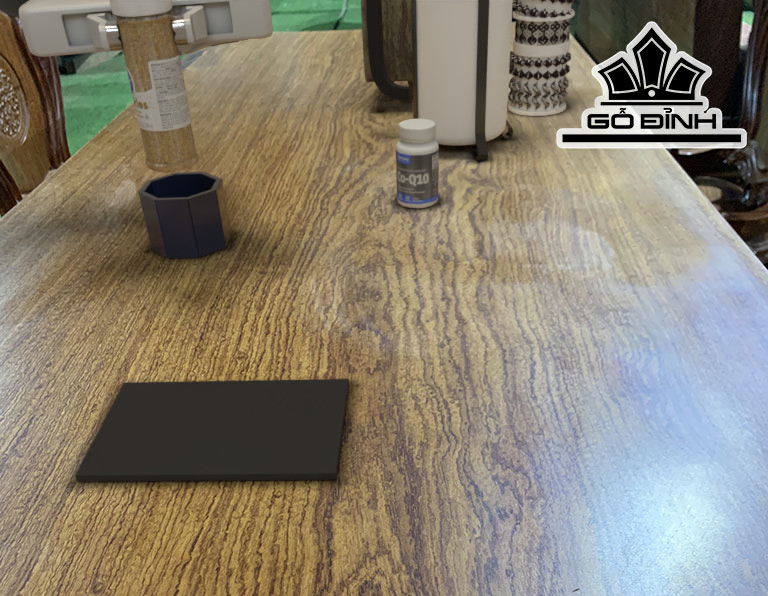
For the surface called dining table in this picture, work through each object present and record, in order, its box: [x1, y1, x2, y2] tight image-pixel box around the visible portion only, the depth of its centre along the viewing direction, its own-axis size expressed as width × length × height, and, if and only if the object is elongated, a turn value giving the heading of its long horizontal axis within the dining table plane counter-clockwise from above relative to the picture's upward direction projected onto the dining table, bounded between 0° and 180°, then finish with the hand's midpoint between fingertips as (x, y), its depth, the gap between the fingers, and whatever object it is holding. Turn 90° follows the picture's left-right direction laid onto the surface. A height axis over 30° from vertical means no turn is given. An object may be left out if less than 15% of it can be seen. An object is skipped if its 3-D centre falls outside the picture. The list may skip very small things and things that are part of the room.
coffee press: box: [366, 0, 514, 162], centre depth 99 cm, size 17×16×30 cm
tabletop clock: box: [360, 0, 413, 112], centre depth 118 cm, size 14×9×25 cm, turn 175°
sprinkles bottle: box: [109, 0, 200, 174], centre depth 67 cm, size 5×5×13 cm
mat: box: [75, 378, 350, 483], centre depth 61 cm, size 18×12×1 cm, turn 88°
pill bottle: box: [395, 118, 440, 209], centre depth 91 cm, size 5×5×8 cm
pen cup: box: [137, 171, 232, 259], centre depth 86 cm, size 8×8×6 cm
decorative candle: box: [507, 0, 578, 117], centre depth 112 cm, size 9×9×25 cm
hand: (147, 35), depth 64 cm, fingers closed on sprinkles bottle, 4 cm apart
